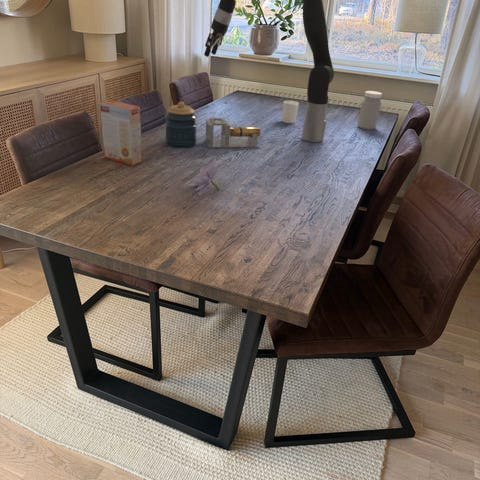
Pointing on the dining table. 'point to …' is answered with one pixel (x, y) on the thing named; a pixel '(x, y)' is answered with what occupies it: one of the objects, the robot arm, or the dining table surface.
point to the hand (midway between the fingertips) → (209, 55)
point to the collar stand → (227, 136)
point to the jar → (369, 110)
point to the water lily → (206, 177)
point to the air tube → (244, 131)
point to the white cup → (290, 111)
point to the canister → (180, 126)
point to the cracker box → (121, 132)
